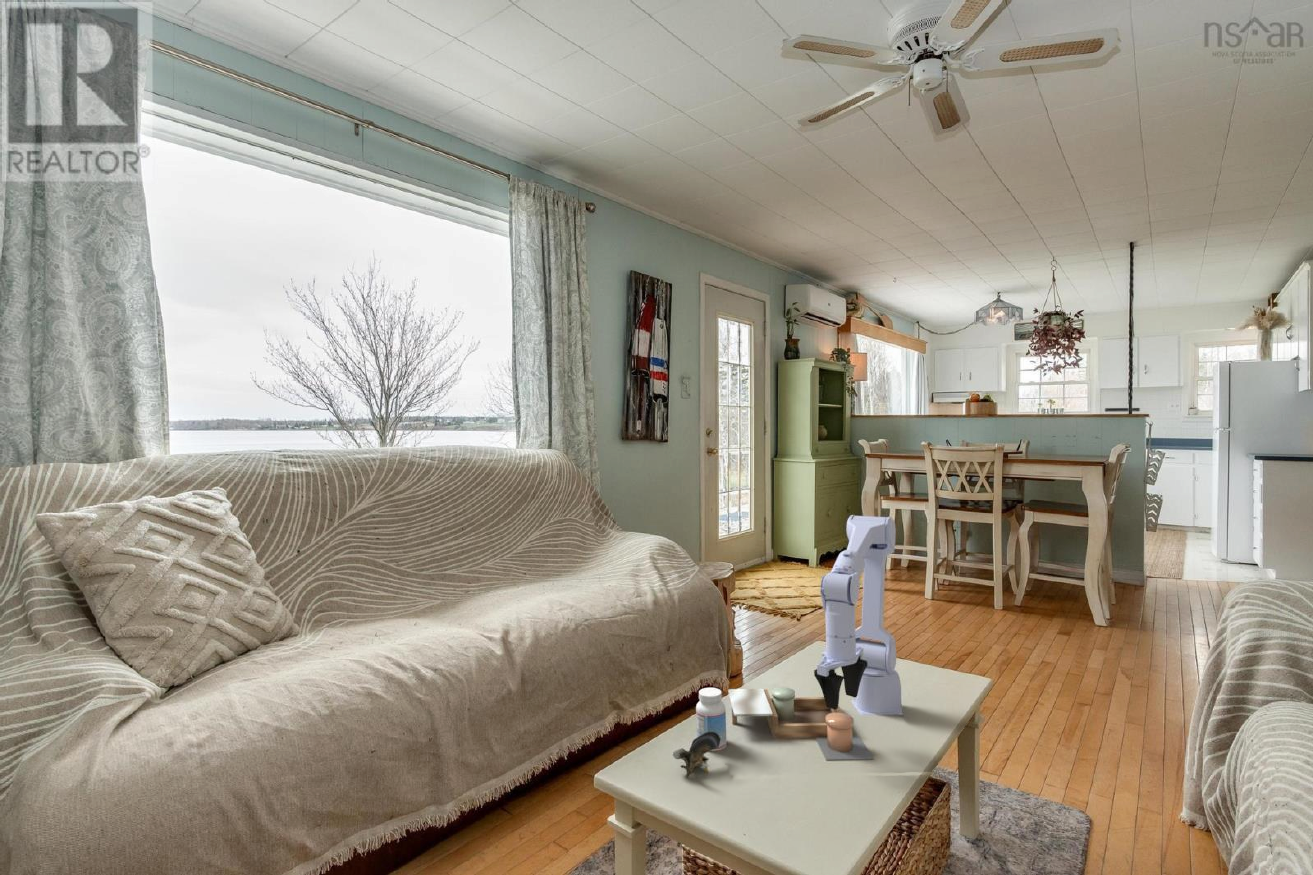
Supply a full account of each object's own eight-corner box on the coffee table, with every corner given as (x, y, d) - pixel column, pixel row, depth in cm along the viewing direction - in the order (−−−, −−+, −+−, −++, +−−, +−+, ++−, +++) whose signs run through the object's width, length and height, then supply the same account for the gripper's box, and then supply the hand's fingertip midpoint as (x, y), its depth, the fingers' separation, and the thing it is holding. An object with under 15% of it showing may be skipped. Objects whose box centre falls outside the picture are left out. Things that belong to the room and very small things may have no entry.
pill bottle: (729, 741, 134) (728, 687, 134) (722, 755, 128) (721, 699, 128) (701, 737, 136) (700, 684, 135) (693, 751, 130) (692, 696, 130)
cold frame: (833, 710, 147) (832, 686, 147) (851, 739, 133) (850, 713, 133) (728, 711, 148) (727, 688, 148) (735, 741, 134) (734, 715, 134)
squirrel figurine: (715, 779, 117) (730, 747, 125) (692, 745, 118) (708, 717, 126) (684, 792, 121) (701, 760, 129) (662, 759, 121) (680, 730, 129)
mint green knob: (793, 711, 146) (792, 686, 146) (797, 720, 141) (797, 695, 141) (770, 711, 146) (770, 687, 146) (774, 721, 141) (774, 696, 141)
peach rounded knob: (850, 739, 132) (850, 712, 131) (856, 752, 126) (856, 724, 126) (823, 739, 132) (823, 712, 132) (828, 752, 127) (828, 724, 127)
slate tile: (859, 740, 133) (859, 736, 133) (873, 762, 124) (873, 758, 124) (815, 741, 133) (815, 737, 133) (826, 763, 124) (826, 759, 124)
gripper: (841, 621, 136) (842, 685, 136) (803, 638, 126) (804, 707, 126) (872, 628, 131) (873, 694, 131) (835, 646, 121) (836, 718, 121)
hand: (841, 701), depth 129 cm, fingers open, 7 cm apart
